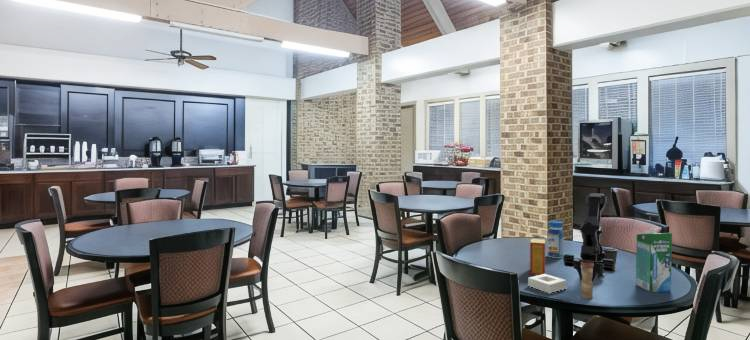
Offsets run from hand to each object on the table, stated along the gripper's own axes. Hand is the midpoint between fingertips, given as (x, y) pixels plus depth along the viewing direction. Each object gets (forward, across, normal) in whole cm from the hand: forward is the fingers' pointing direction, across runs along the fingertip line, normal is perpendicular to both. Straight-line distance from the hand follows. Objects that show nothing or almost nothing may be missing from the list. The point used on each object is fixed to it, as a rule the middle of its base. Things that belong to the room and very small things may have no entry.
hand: (586, 281), depth 164 cm
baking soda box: (-14, -24, +24) cm, 37 cm away
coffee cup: (-33, +5, +44) cm, 55 cm away
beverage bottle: (-39, -21, +49) cm, 66 cm away
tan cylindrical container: (+4, 0, +6) cm, 7 cm away
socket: (+2, -16, +8) cm, 18 cm away
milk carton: (-14, +23, +24) cm, 37 cm away
